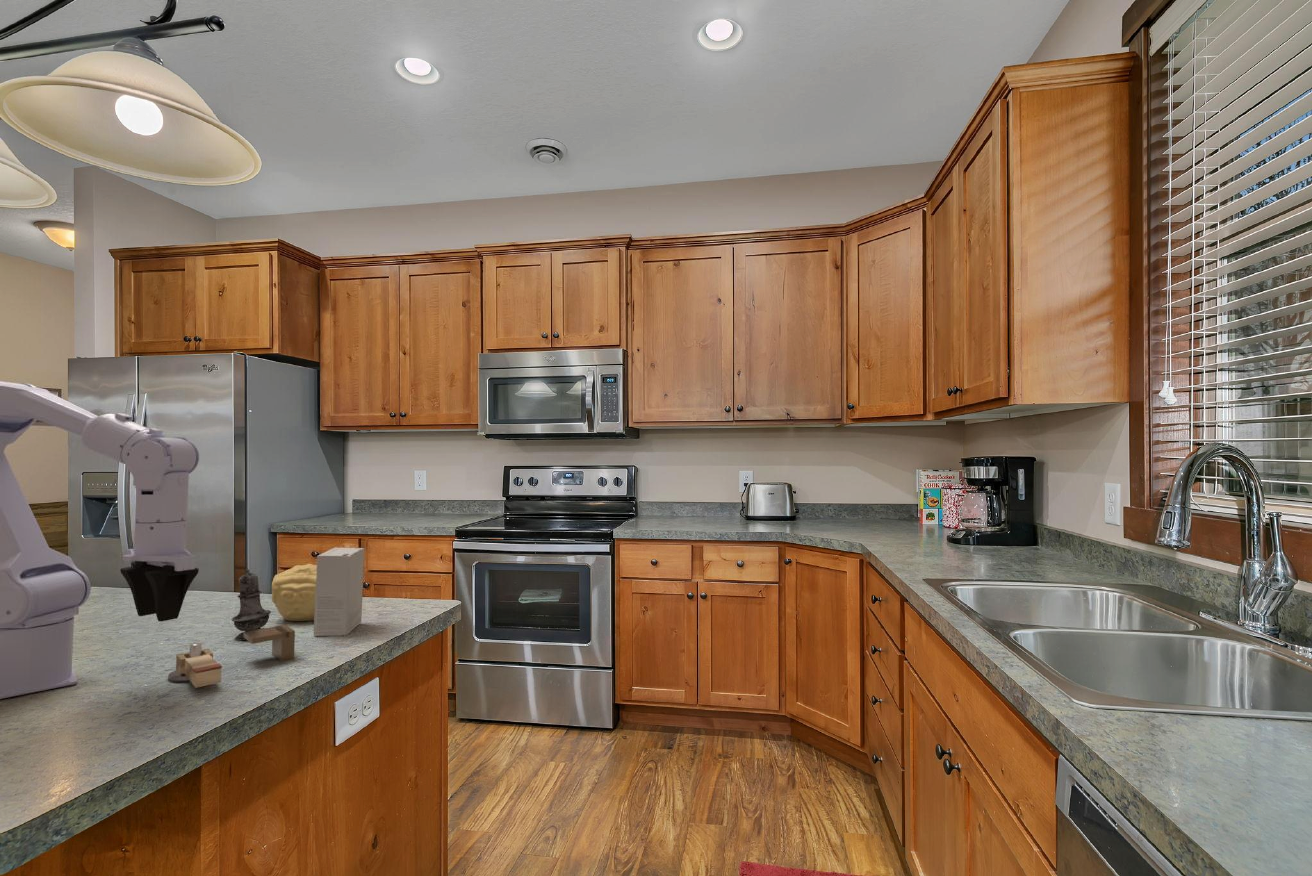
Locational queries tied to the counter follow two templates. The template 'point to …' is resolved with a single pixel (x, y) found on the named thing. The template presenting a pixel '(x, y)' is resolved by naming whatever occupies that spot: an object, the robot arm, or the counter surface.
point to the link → (199, 668)
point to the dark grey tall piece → (250, 606)
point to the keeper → (275, 640)
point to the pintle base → (193, 652)
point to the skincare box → (338, 591)
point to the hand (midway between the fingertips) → (157, 617)
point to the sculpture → (295, 592)
